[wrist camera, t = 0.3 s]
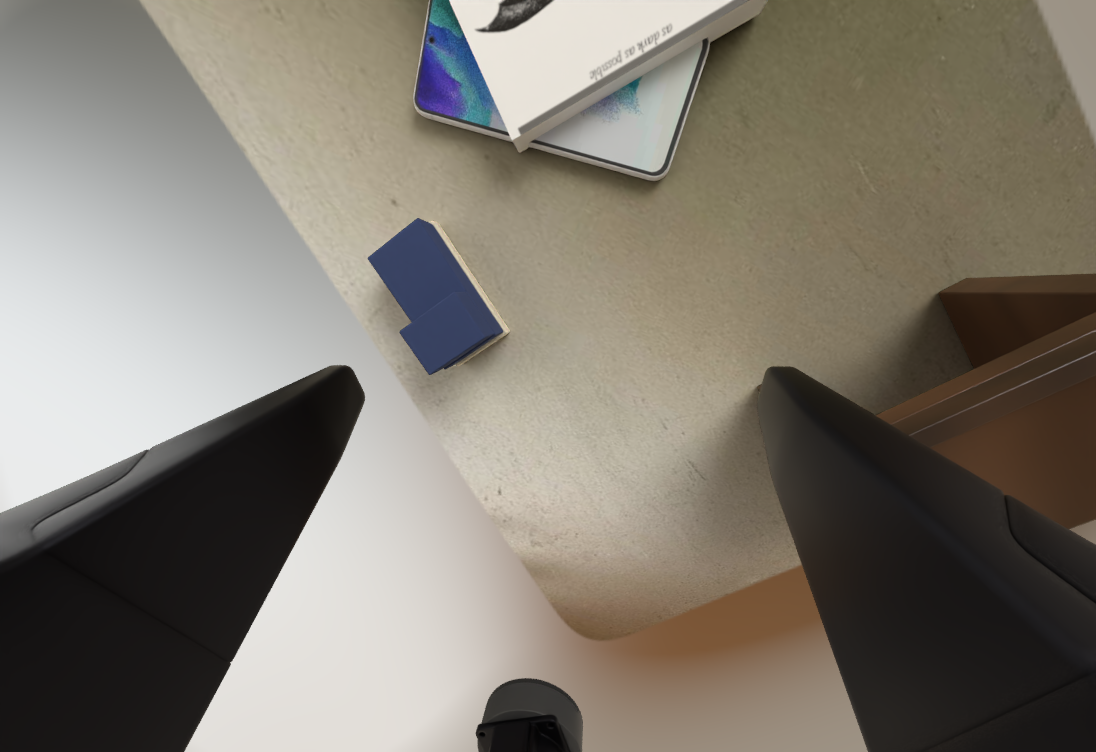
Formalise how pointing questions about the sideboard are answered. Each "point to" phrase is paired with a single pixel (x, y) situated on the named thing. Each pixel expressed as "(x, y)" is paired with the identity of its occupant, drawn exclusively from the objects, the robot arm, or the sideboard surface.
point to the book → (580, 49)
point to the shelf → (1019, 392)
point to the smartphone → (590, 136)
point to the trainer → (437, 297)
